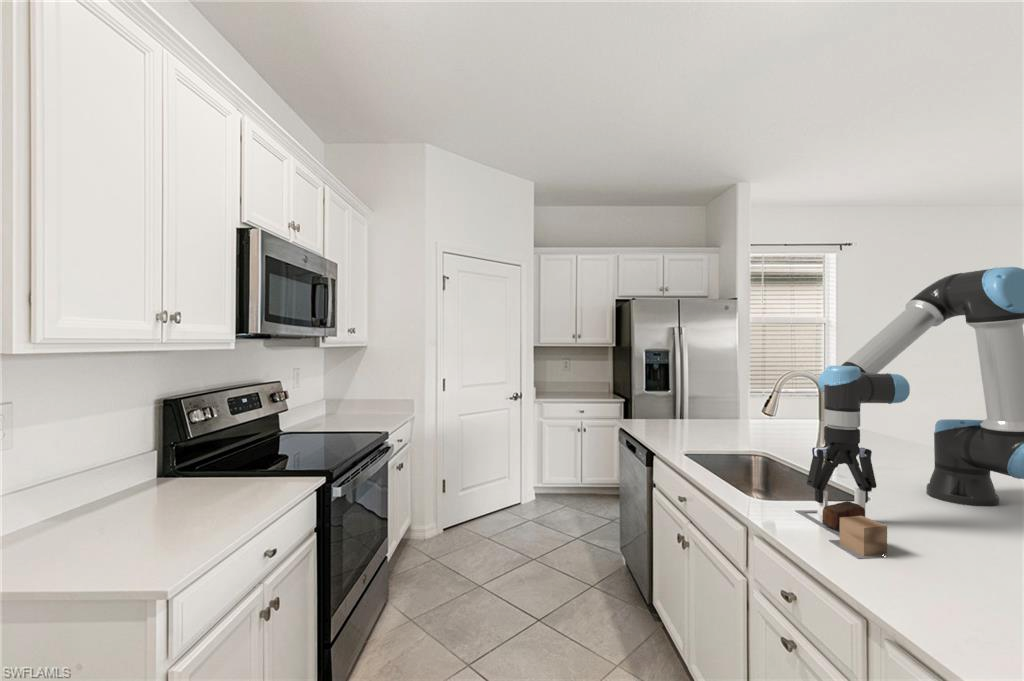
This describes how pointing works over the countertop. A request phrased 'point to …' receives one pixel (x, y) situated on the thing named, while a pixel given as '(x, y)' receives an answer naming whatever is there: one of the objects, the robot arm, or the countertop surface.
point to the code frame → (803, 512)
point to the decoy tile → (855, 552)
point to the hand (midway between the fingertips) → (841, 515)
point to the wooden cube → (863, 535)
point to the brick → (840, 513)
